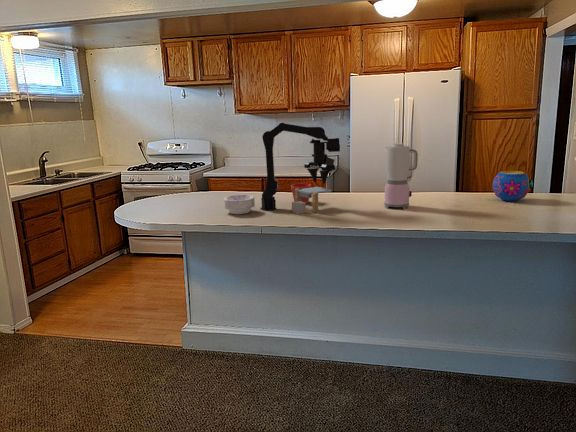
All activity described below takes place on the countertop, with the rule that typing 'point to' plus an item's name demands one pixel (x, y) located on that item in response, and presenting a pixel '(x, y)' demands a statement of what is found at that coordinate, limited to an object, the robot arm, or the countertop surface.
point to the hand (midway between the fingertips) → (319, 183)
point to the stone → (298, 207)
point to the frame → (314, 201)
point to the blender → (398, 175)
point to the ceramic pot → (511, 185)
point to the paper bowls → (239, 203)
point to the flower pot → (300, 186)
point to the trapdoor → (312, 191)
